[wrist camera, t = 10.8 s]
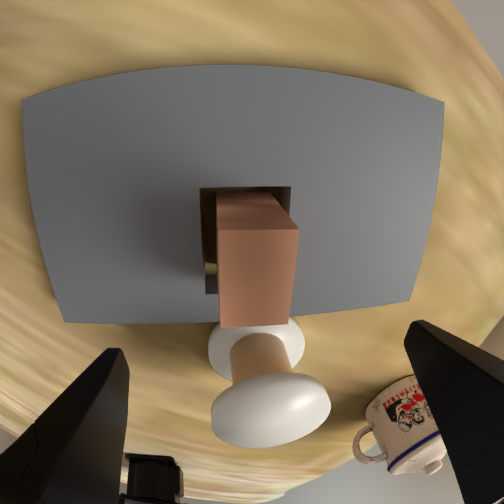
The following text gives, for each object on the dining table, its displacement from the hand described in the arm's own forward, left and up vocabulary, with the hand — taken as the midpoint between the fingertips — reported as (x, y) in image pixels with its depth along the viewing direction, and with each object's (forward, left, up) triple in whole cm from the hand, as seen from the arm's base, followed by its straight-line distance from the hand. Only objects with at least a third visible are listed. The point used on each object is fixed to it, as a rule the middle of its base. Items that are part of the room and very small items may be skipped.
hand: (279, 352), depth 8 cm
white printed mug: (+17, -22, -10) cm, 30 cm away
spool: (+1, -9, -10) cm, 14 cm away
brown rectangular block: (0, 0, -10) cm, 10 cm away
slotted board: (0, +2, -10) cm, 10 cm away
